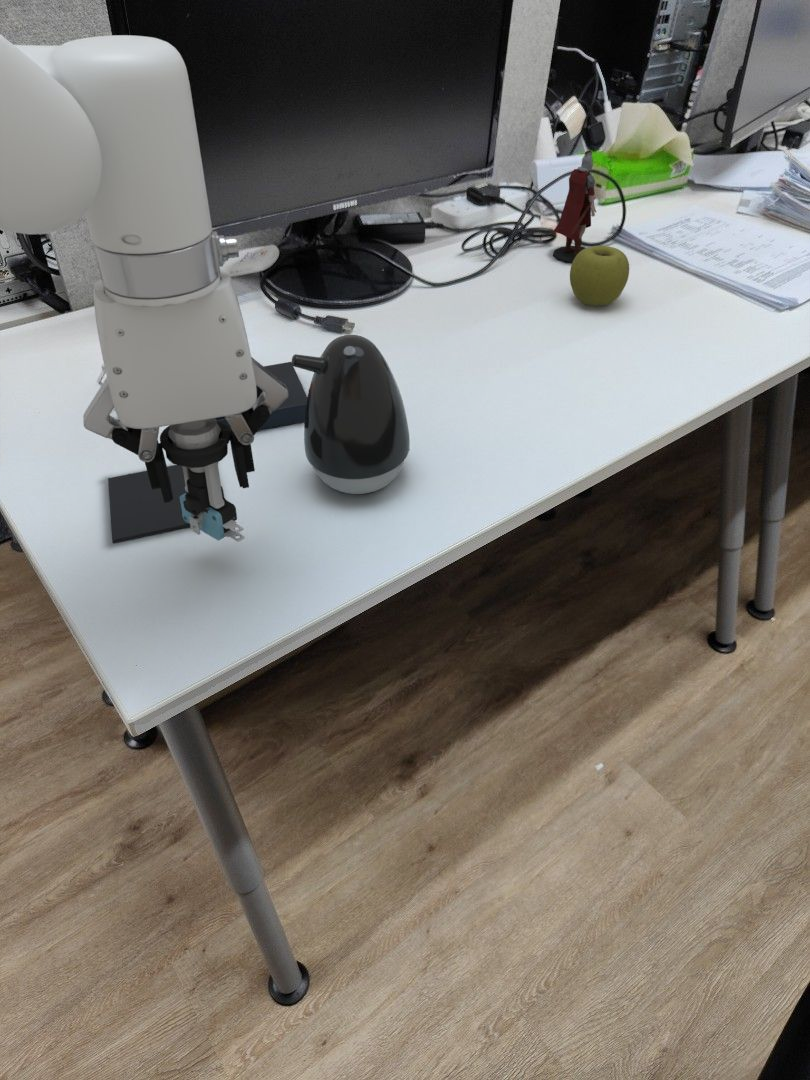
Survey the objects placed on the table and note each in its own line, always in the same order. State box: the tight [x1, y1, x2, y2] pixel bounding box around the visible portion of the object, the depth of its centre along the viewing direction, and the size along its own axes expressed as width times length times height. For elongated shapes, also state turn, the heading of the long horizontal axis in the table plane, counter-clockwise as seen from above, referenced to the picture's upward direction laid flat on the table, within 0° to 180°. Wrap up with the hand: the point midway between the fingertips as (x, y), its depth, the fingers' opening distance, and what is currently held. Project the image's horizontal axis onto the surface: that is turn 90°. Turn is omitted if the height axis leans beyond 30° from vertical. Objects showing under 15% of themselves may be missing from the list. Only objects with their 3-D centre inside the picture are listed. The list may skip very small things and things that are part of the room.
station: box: [215, 361, 308, 431], centre depth 86 cm, size 12×10×4 cm
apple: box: [569, 245, 630, 307], centre depth 104 cm, size 8×8×7 cm
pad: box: [107, 464, 191, 544], centre depth 75 cm, size 10×10×1 cm
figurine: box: [552, 150, 597, 264], centre depth 114 cm, size 7×7×15 cm
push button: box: [159, 418, 246, 543], centre depth 62 cm, size 7×5×10 cm
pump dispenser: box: [291, 334, 411, 495], centre depth 72 cm, size 10×10×15 cm
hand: (204, 483), depth 62 cm, fingers closed on push button, 5 cm apart
